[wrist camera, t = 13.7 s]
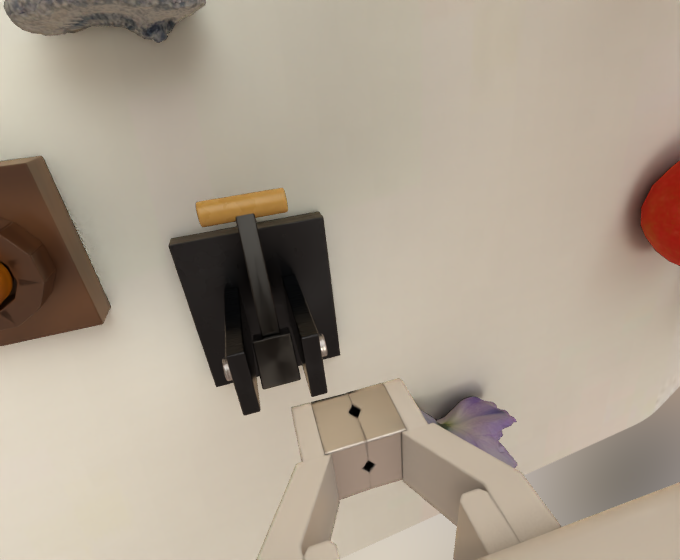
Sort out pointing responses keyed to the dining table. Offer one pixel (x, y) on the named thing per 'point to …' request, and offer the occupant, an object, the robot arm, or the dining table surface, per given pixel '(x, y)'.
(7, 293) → the button
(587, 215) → the dining table surface
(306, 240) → the switch bracket
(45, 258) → the button block
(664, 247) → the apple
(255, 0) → the dining table surface
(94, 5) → the grey rock
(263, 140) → the dining table surface
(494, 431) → the flower
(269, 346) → the switch lever
